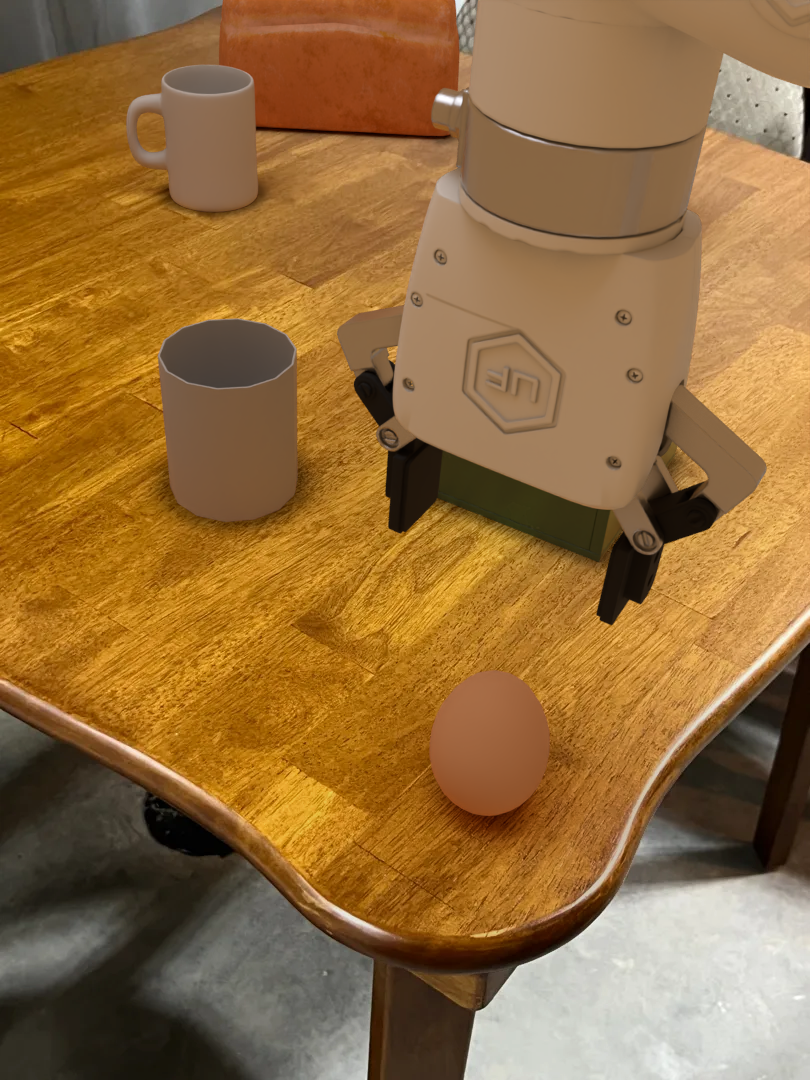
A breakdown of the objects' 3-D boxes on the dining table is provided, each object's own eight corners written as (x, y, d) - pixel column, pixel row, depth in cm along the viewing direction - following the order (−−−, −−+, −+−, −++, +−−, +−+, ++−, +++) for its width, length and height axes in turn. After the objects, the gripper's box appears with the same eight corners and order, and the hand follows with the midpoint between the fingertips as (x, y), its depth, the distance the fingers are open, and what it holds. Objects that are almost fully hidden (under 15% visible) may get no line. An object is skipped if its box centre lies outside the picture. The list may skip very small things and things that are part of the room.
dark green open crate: (674, 459, 82) (691, 392, 78) (599, 563, 73) (613, 492, 69) (503, 398, 87) (512, 332, 83) (412, 488, 78) (417, 419, 74)
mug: (257, 176, 116) (253, 64, 109) (259, 212, 110) (256, 95, 103) (135, 177, 114) (123, 62, 107) (130, 213, 108) (118, 94, 101)
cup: (145, 482, 77) (130, 350, 70) (236, 432, 82) (230, 305, 75) (232, 539, 73) (225, 405, 66) (323, 483, 78) (324, 353, 71)
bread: (230, 87, 136) (223, -61, 125) (452, 99, 136) (464, -47, 126) (215, 130, 125) (207, -27, 115) (456, 143, 126) (469, -12, 116)
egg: (438, 852, 55) (452, 738, 50) (414, 759, 60) (424, 645, 54) (552, 836, 57) (578, 723, 51) (521, 746, 61) (541, 632, 56)
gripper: (291, 129, 38) (290, 528, 49) (807, 284, 32) (673, 701, 43) (407, 70, 43) (383, 444, 54) (872, 195, 37) (737, 588, 48)
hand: (511, 557), depth 48 cm, fingers open, 9 cm apart
